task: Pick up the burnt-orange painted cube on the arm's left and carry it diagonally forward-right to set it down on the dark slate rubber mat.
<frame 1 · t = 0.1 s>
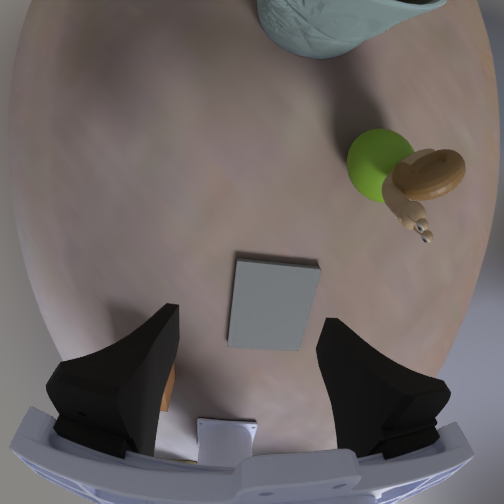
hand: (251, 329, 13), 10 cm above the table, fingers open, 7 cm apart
cube: (152, 359, 26), on the table
teal cup: (307, 19, 15), on the table
mat: (270, 308, 24), on the table
snail figurine: (361, 165, 20), on the table
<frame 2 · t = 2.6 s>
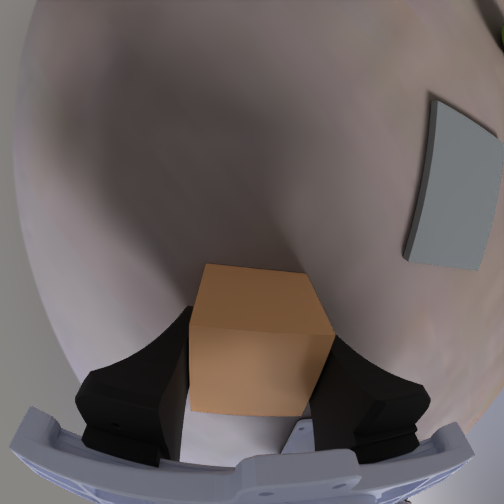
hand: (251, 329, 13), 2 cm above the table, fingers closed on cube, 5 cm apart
cube: (250, 311, 14), on the table, touching gripper
mat: (461, 193, 12), on the table
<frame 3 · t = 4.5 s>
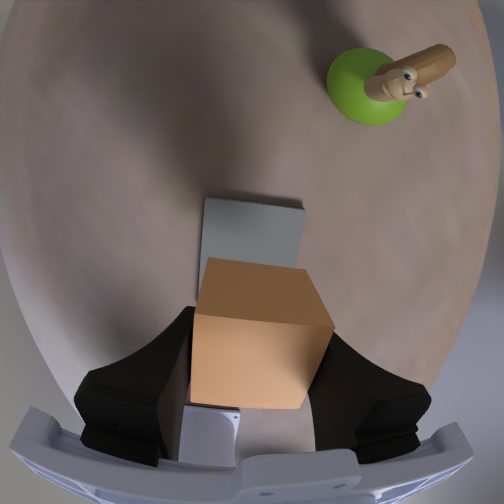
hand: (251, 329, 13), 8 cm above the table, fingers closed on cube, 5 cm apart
cube: (249, 305, 15), point 6 cm above the table, touching gripper
mat: (247, 260, 21), on the table
snail figurine: (346, 96, 16), on the table
when the fingers open (3 cm above the table, at t = 6.4 s): cube stays where it is, resting on mat.
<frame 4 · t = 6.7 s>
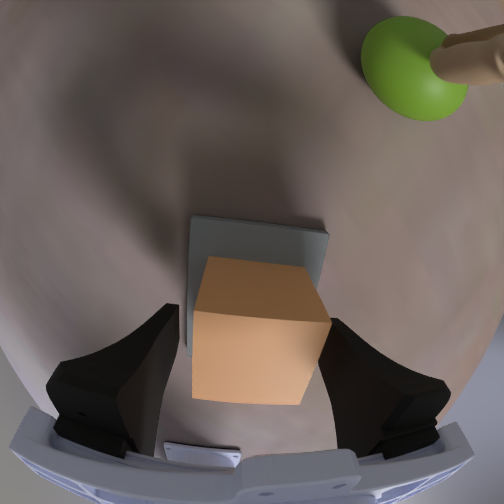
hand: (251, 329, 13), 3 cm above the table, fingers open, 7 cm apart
cube: (250, 303, 15), point 1 cm above the table, touching mat
mat: (249, 298, 15), on the table
snail figurine: (381, 81, 11), on the table
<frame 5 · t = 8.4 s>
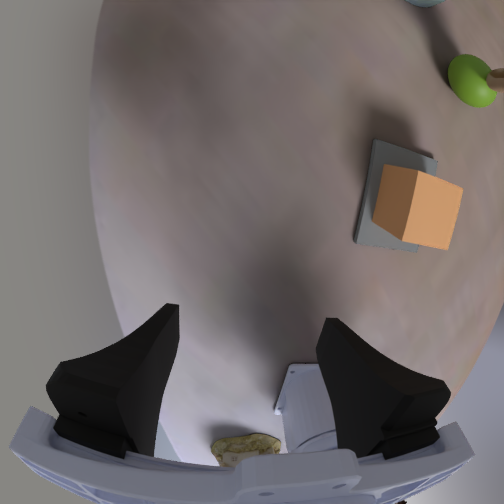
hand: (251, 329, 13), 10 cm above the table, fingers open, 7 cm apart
cube: (401, 199, 21), point 1 cm above the table, touching mat
mat: (397, 198, 21), on the table
ceramic model: (247, 450, 36), on the table
snail figurine: (452, 85, 17), on the table
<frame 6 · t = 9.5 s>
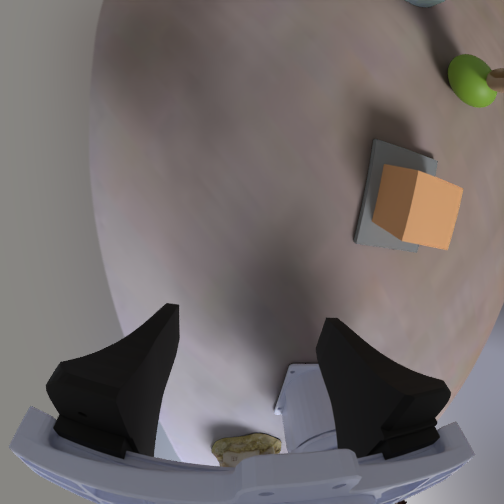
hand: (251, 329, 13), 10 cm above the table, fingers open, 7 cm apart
cube: (401, 199, 21), point 1 cm above the table, touching mat
mat: (397, 198, 21), on the table
ceramic model: (247, 450, 35), on the table
snail figurine: (452, 85, 17), on the table
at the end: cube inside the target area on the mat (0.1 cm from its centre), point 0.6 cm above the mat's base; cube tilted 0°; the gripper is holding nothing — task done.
